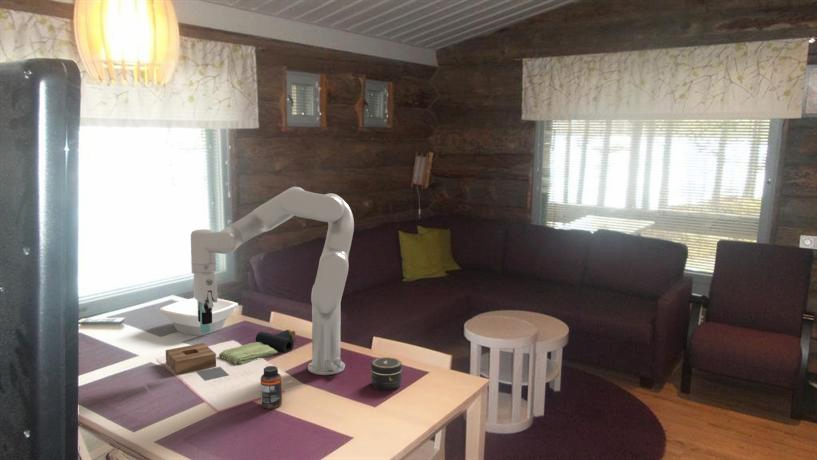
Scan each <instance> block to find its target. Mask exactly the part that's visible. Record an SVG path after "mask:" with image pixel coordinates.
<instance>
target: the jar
mask: <svg viewBox="0 0 817 460" xmlns="http://www.w3.org/2000/svg"><path fill="white" fill-rule="evenodd" d="M402 371H403V362H402V361H401V360H400V359H398V358H395V357H387V356H385V357H378V358H375V359H373V360H372V361H371V364H370V378H371V379H370V380H371V385H372V386H373V388H375V389H376V390H379V391H393V390H397V389H398V388H399V387H400V386H401V384H402V376H403V373H402Z"/></svg>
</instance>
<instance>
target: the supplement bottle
mask: <svg viewBox="0 0 817 460" xmlns="http://www.w3.org/2000/svg"><path fill="white" fill-rule="evenodd" d="M278 370H279V369H278V367H277V366H275V365H269V366H265V367H264V368H263V374H262V375H261V376H260V401H261V402H260V405H261V407H262V408H264V409H267V410H270V409H276V408H279V407H280V406H281V405H282V404H283V394H282V393H283V391H282V388H283V387H282V376H281V374H280V373H278V372H279V371H278Z"/></svg>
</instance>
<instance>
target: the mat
mask: <svg viewBox="0 0 817 460" xmlns="http://www.w3.org/2000/svg"><path fill="white" fill-rule="evenodd" d="M196 373H197V374H198V375H199V376H200V378H202V380H203V381H210V380H214V379H221V378H225V377H228V376H230V373H227V372H226V370H224V369H223V368H222V367H221V366H216V367H212V368H207V369H203V370H198V371H196Z"/></svg>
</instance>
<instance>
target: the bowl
mask: <svg viewBox="0 0 817 460" xmlns="http://www.w3.org/2000/svg"><path fill="white" fill-rule="evenodd" d="M237 306H239V303H238V302H234V301H231V300H226V299H222V298H218V301H217V302H216V303H215V302H213V308H212V323H210V332H207V333H202V332H201V329H200V322H199V321H198V310H200V309H198V303H197V300H196V299H195V298H194V297H192V298H187V299H184V300H180V301H175V302H173V303H169V304H168V305H167V304H166V305H164V306H162V307H160V308H159V309H158V310H159V311H160V313H162V315H164V316H165V317H166V318H167V319H168V320H170V322H172V324H173V325H174V327H175V329H176V331H177V333H180V334H184V335H189V336H193V337H194V336H196V337H203V336H206V335H210V334H211V333H215V332H216V331H219V330H221V329H223V327H224V325H225V324H226V320H227V319H228V317H230V315H231V314H232V312H233V311H234V310H235V309H236V307H237Z"/></svg>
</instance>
